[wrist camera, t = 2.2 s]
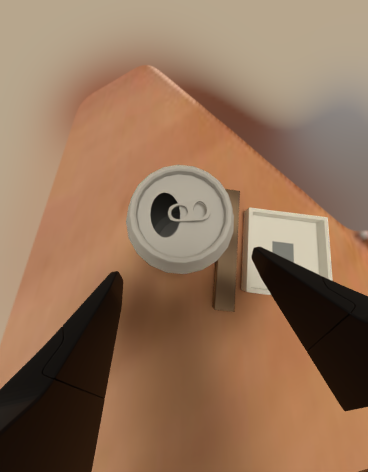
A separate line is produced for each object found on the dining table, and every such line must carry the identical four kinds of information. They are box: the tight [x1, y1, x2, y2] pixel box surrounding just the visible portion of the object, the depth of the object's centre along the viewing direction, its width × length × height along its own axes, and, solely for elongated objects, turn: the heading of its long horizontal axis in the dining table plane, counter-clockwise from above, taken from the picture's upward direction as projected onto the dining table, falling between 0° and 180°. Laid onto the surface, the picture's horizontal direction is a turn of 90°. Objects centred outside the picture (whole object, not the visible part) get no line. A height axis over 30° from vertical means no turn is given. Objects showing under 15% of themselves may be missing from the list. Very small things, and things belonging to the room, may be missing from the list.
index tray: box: [241, 208, 332, 295], centre depth 20 cm, size 11×11×2 cm
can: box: [126, 165, 234, 274], centre depth 14 cm, size 8×8×12 cm
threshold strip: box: [213, 189, 240, 312], centre depth 20 cm, size 16×2×1 cm, turn 173°
